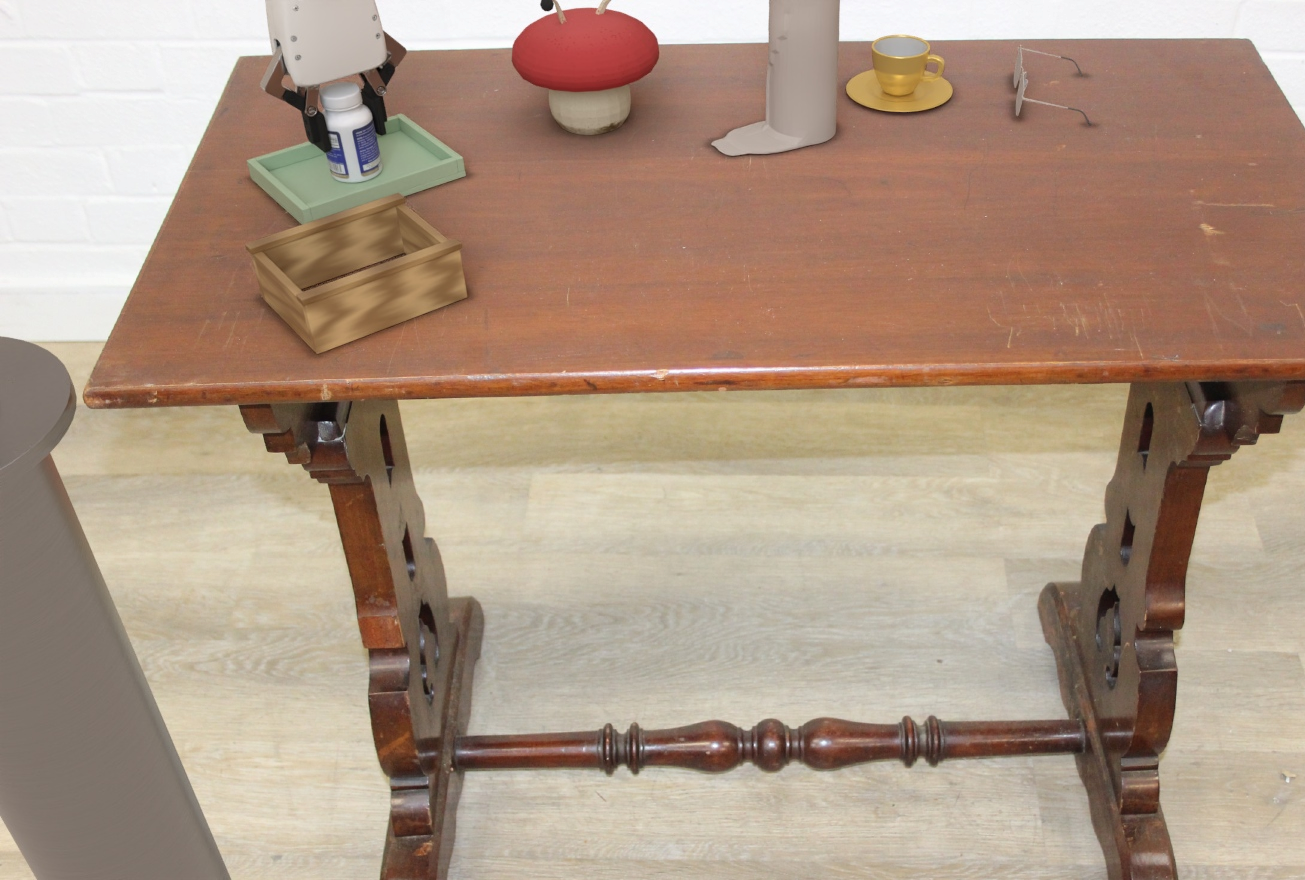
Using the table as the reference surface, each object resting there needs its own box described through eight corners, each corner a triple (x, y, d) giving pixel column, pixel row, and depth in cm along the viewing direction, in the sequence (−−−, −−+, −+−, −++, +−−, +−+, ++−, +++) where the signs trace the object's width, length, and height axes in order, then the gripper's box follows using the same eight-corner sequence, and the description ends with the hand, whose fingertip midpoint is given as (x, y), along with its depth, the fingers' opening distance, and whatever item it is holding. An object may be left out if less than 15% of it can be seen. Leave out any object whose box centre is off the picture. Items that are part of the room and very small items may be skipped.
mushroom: (560, 166, 145) (544, 24, 136) (495, 112, 156) (477, -24, 146) (690, 129, 152) (684, -10, 142) (620, 79, 162) (610, -53, 152)
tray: (306, 229, 136) (301, 209, 135) (251, 178, 144) (246, 159, 143) (466, 175, 144) (463, 157, 143) (405, 130, 152) (401, 112, 151)
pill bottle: (381, 157, 146) (365, 76, 140) (384, 180, 142) (368, 97, 137) (329, 164, 145) (311, 82, 139) (331, 187, 141) (312, 103, 136)
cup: (833, 107, 156) (835, 60, 152) (861, 65, 164) (863, 20, 161) (939, 121, 153) (943, 73, 149) (962, 77, 161) (966, 31, 158)
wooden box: (315, 356, 119) (301, 300, 115) (259, 298, 126) (244, 243, 123) (471, 297, 126) (462, 242, 122) (409, 245, 133) (398, 192, 130)
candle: (702, 137, 150) (695, -53, 137) (816, 111, 155) (820, -75, 142) (731, 164, 145) (727, -31, 132) (847, 137, 150) (855, -54, 137)
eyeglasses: (1012, 71, 162) (1019, 38, 160) (1081, 79, 162) (1089, 46, 159) (1016, 124, 152) (1023, 89, 149) (1090, 132, 151) (1098, 97, 149)
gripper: (377, -74, 136) (408, 104, 148) (207, -34, 128) (254, 150, 140) (413, -54, 131) (443, 128, 143) (239, -12, 123) (285, 177, 135)
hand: (349, 137), depth 141 cm, fingers closed on pill bottle, 5 cm apart
